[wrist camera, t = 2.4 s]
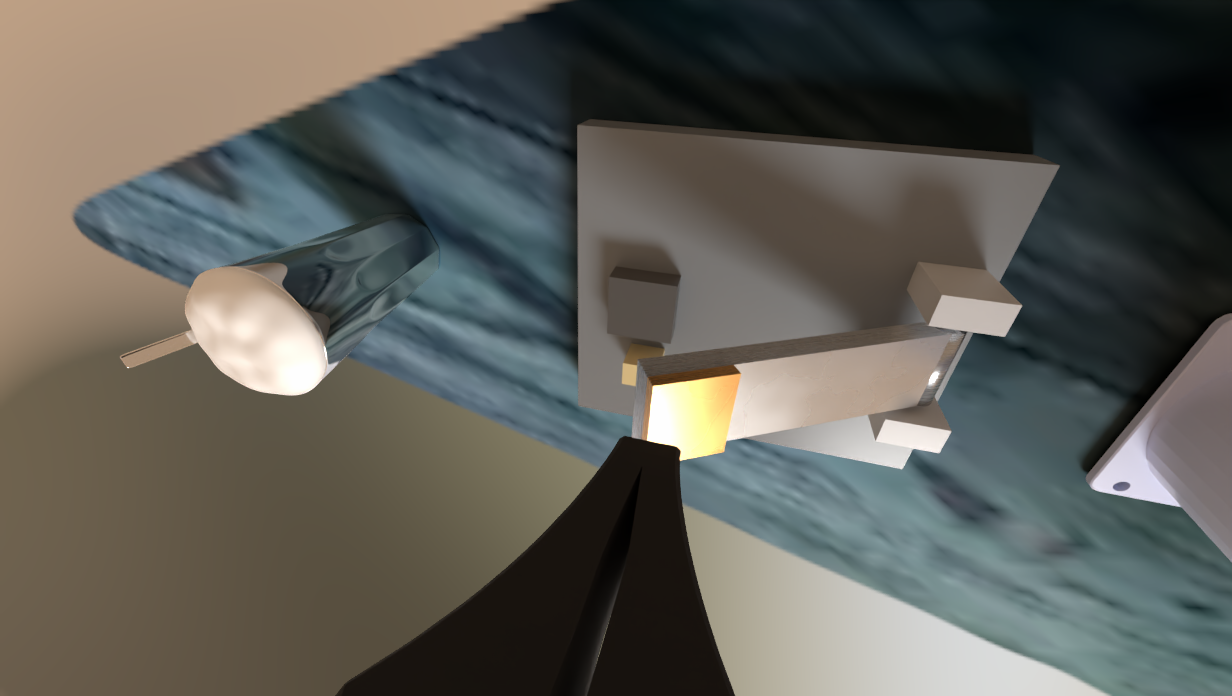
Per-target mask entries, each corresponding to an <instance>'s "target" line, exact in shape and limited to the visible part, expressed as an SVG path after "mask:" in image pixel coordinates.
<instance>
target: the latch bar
mask: <svg viewBox="0 0 1232 696" xmlns="http://www.w3.org/2000/svg"><path fill="white" fill-rule="evenodd" d="M967 332H968V331H961V330H954V329H947V328H940V327H933V326H928V325H927V323H926V322H920V323H912V324H905V325H897V326H889V327H882V328H874V329H866V330H858V331H851V332H843V333H835V334H828V335H820V336H812V337H805V338H797V339H789V340H782V341H774V342H766V343H759V344H751V345H743V346H735V347H728V348H720V349H712V350H705V351H697V352H689V353H682V354H674V355H666V356H659V357H651V358H643V359H638V362H637V375H636V388H635V401H634V414H633V427H632V438H637V439H642V440H647V441H652V442H657V443H662V444H667V445H672V446H677V447H678V448H679V450H680V451H681V456H680V460H685V459H690V458H695V457H701V456H706V455H711V454H716V453H722V452H724V448H725V444H726V441H729V440H734V439H739V438H745V437H750V436H756V435H761V434H767V433H772V432H778V431H783V430H788V429H794V428H799V427H805V426H810V425H816V424H821V423H827V422H832V421H837V420H843V419H848V418H854V417H859V416H865V415H870V414H875V413H881V412H886V411H892V410H897V409H903V408H908V407H914V406H920V407H926V406H929V405H930V404H931V403H932V401H933V399H934V397H935V395H936V393H937V391H938V389H939V387H940V385H941V383H942V381H943V379H944V377H945V375H946V373H947V371H948V369H949V367H950V365H951V363H952V362H953V360H954V358H955V356H956V354H957V352H958V350H959V348H960V346H961V344H962V342H963V340H964V338H965V336H966V334H967Z"/></svg>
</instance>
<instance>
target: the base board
mask: <svg viewBox="0 0 1232 696" xmlns="http://www.w3.org/2000/svg"><path fill="white" fill-rule="evenodd" d="M577 164H578V406H582V407H587V408H593V409H598V410H603V411H608V412H613V413H618V414H623V415H628V416H633V414H634V401H635V388H636V375H637V362H638V359H643V358H651V357H659V356H666V355H674V354H682V353H689V352H697V351H705V350H712V349H720V348H728V347H735V346H743V345H751V344H759V343H766V342H774V341H782V340H789V339H797V338H805V337H812V336H820V335H828V334H835V333H843V332H851V331H858V330H866V329H874V328H882V327H889V326H897V325H905V324H912V323H920V322H926V323H927V325H928V326H933V327H940V328H947V329H954V330H961V331H968V332H967V334H966V336H965V338H964V340H963V342H962V344H961V346H960V348H959V350H958V352H957V354H956V356H955V358H954V360H953V362H952V363H951V365H950V367H949V369H948V371H947V373H946V375H945V377H944V379H943V381H942V383H941V385H940V387H939V389H938V391H937V393H936V395H935V397H934V399H933V401H932V403H931V404H930V405H929V406H926V407H920V406H914V407H908V408H903V409H897V410H892V411H886V412H881V413H875V414H870V415H865V416H859V417H854V418H848V419H843V420H837V421H832V422H827V423H821V424H816V425H810V426H805V427H799V428H794V429H788V430H783V431H778V432H772V433H767V434H761V435H756V436H750V437H745V438H746V439H751V440H756V441H761V442H766V443H772V444H777V445H782V446H787V447H792V448H797V449H802V450H807V451H812V452H818V453H823V454H828V455H833V456H838V457H843V458H848V459H853V460H858V461H864V462H869V463H874V464H879V465H884V466H889V467H894V468H899V469H903V467H904V465H905V463H906V461H907V459H908V457H909V455H910V454H911V452H912V450H913V448H914V449H919V450H924V451H930V452H935V453H940V451H941V449H942V447H943V446H944V444H945V442H946V440H947V438H948V437H949V435H950V433H951V429H950V427H949V425H948V423H947V421H946V419H945V417H944V415H943V413H942V411H941V409H940V407H939V405H938V403H937V401H938V400H939V398H940V396H941V394H942V392H943V390H944V388H945V386H946V384H947V382H948V380H949V378H950V376H951V374H952V373H953V371H954V369H955V367H956V365H957V363H958V361H959V359H960V357H961V355H962V353H963V351H964V349H965V348H966V346H967V344H968V342H969V340H970V338H971V336H972V334H973V332H975V333H982V334H989V335H996V336H1003V337H1005V336H1006V334H1007V332H1008V330H1009V328H1010V327H1011V325H1012V323H1013V321H1014V320H1015V318H1016V316H1017V314H1018V313H1019V311H1020V309H1021V307H1022V305H1021V304H1020V303H1019V302H1018V301H1017V300H1016V299H1015V298H1014V297H1013V296H1012V295H1011V294H1010V293H1009V292H1008V291H1007V290H1006V289H1005V288H1004V287H1003V286H1002V285H1001V284H1000V283H999V282H1000V280H1001V278H1002V276H1003V274H1004V272H1005V270H1006V268H1007V267H1008V265H1009V263H1010V261H1011V259H1012V257H1013V255H1014V253H1015V251H1016V249H1017V247H1018V245H1019V243H1020V241H1021V240H1022V238H1023V236H1024V234H1025V232H1026V230H1027V228H1028V226H1029V224H1030V222H1031V220H1032V218H1033V216H1034V215H1035V213H1036V211H1037V209H1038V207H1039V205H1040V203H1041V201H1042V199H1043V197H1044V195H1045V193H1046V191H1047V189H1048V188H1049V186H1050V184H1051V182H1052V180H1053V178H1054V176H1055V174H1056V172H1057V170H1058V168H1059V166H1060V165H1058V164H1055V163H1053V162H1050V161H1048V160H1046V159H1043V158H1041V157H1038V156H1036V155H1029V154H1016V153H1004V152H992V151H979V150H967V149H954V148H942V147H930V146H917V145H905V144H893V143H880V142H868V141H855V140H843V139H831V138H818V137H806V136H794V135H781V134H769V133H757V132H744V131H732V130H719V129H707V128H695V127H682V126H670V125H658V124H645V123H633V122H620V121H608V120H596V119H589V120H587V121H585V122H583V123H581V124H579V125H577Z"/></svg>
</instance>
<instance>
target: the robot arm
mask: <svg viewBox="0 0 1232 696" xmlns="http://www.w3.org/2000/svg"><path fill="white" fill-rule="evenodd" d="M680 456H681V451H680V450H679V448H678V447H677V446H672V445H667V444H662V443H657V442H652V441H647V440H642V439H637V438H632V437H627V436H624V437H622V438H620V439H619V441H618V442H617V444H616V446H615V447H614V449H613V450H612V452H611V453H610V455H609V456H608V458H607V459H606V461H605V462H604V463H603V465H602V466H601V467H600V469H599V470H598V471H597V473H596V474H595V475H594V477H593V478H592V479H591V480H590V482H589V483H588V484H587V485H586V486H585V488H584V489H583V490H582V491H581V492H580V494H579V495H578V496H577V497H576V498H575V500H574V501H573V502H572V503H571V504H570V505H569V507H568V508H567V509H566V510H565V511H564V512H563V513H562V514H561V515H560V516H559V517H558V518H557V519H556V520H555V521H554V523H553V524H552V525H551V526H550V527H549V528H548V529H547V530H546V531H545V532H544V533H543V534H542V535H541V536H540V537H539V538H538V539H537V540H536V541H535V542H534V543H533V544H532V545H531V546H530V547H529V548H528V549H527V550H526V551H525V552H523V553H522V554H521V555H520V556H519V557H518V558H517V559H516V560H515V561H514V562H512V563H511V564H510V565H509V566H508V567H507V568H506V569H505V570H503V571H502V572H501V573H500V574H498V575H497V576H496V577H495V578H494V579H493V580H491V581H490V582H489V583H488V584H487V585H485V586H484V587H483V588H482V589H481V590H479V591H478V592H477V593H476V594H474V595H473V596H472V597H471V598H469V599H468V600H467V601H466V602H464V603H463V604H462V605H460V606H459V607H457V608H456V609H455V610H453V611H452V612H450V613H449V614H448V615H446V616H445V617H444V618H442V619H441V620H439V621H438V622H437V623H435V624H434V625H433V626H431V627H430V628H428V629H427V630H426V631H424V632H423V633H422V634H420V635H419V636H417V637H416V638H414V639H413V640H412V641H410V642H408V643H407V644H405V645H404V646H402V647H401V648H399V649H398V650H396V651H395V652H393V653H391V654H390V655H388V656H387V657H385V658H384V659H382V660H380V661H379V662H377V663H376V664H374V665H373V666H371V667H370V668H368V669H366V670H365V671H363V672H362V673H360V674H358V675H357V676H355V677H354V678H352V679H351V680H349V681H348V682H347V683H345V684H344V686H343V687H342V688H341V689H340V690H339V692H338V693H337V694H336V695H335V696H735V694H734V692H733V689H732V686H731V683H730V681H729V678H728V676H727V673H726V670H725V667H724V665H723V662H722V659H721V657H720V654H719V651H718V648H717V645H716V642H715V639H714V636H713V633H712V629H711V627H710V624H709V620H708V617H707V613H706V610H705V607H704V603H703V600H702V596H701V593H700V589H699V585H698V581H697V577H696V573H695V570H694V565H693V561H692V556H691V552H690V547H689V542H688V537H687V532H686V526H685V519H684V513H683V506H682V499H681V487H680ZM1086 481H1087V483H1088V484H1089V485H1090V487H1091V488H1092V489H1094V490H1096V491H1099V492H1105V493H1110V494H1115V495H1120V496H1126V497H1131V498H1136V499H1141V500H1147V501H1152V502H1157V503H1163V504H1168V505H1173V506H1178V507H1182V508H1183V509H1184V510H1185V511H1186V512H1187V514H1188V515H1189V516H1190V517H1191V518H1192V519H1193V520H1194V521H1195V522H1196V523H1197V525H1198V526H1199V527H1200V528H1201V529H1202V530H1203V531H1204V532H1205V533H1206V534H1207V536H1208V537H1209V538H1210V539H1211V540H1212V541H1213V542H1214V543H1215V544H1216V545H1217V547H1218V548H1219V549H1220V550H1221V551H1222V552H1223V553H1224V554H1225V555H1226V556H1227V558H1228V559H1229V560H1230V561H1231V562H1232V313H1230V314H1226V315H1224V316H1222V317H1220V318H1218V319H1216V320H1215V321H1214V322H1213V323H1212V324H1211V325H1210V326H1209V328H1208V329H1207V330H1206V331H1205V332H1204V334H1203V335H1202V336H1201V337H1200V338H1199V340H1198V341H1197V342H1196V343H1195V344H1194V346H1193V347H1192V348H1191V349H1190V351H1189V352H1188V353H1187V354H1186V355H1185V357H1184V358H1183V359H1182V360H1181V361H1180V363H1179V364H1178V365H1177V366H1176V368H1175V369H1174V370H1173V371H1172V372H1171V374H1170V375H1169V376H1168V377H1167V378H1166V380H1165V381H1164V382H1163V383H1162V385H1161V386H1160V387H1159V388H1158V389H1157V391H1156V392H1155V393H1154V394H1153V395H1152V397H1151V398H1150V399H1149V400H1148V401H1147V403H1146V404H1145V405H1144V406H1143V408H1142V409H1141V410H1140V411H1139V412H1138V414H1137V415H1136V416H1135V417H1134V418H1133V420H1132V421H1131V422H1130V423H1129V425H1128V426H1127V427H1126V428H1125V429H1124V431H1123V432H1122V433H1121V434H1120V435H1119V437H1118V438H1117V439H1116V440H1115V442H1114V443H1113V444H1112V445H1111V446H1110V448H1109V449H1108V450H1107V451H1106V452H1105V454H1104V455H1103V456H1102V457H1101V458H1100V460H1099V461H1098V462H1097V463H1096V465H1095V466H1094V467H1093V468H1092V469H1091V471H1090V472H1089V473H1088V474H1087V476H1086ZM1118 482H1120V483H1118ZM610 616H611V617H610ZM609 619H610V620H609ZM608 622H609V624H608ZM607 625H608V628H607ZM606 628H607V631H606ZM605 631H606V634H605ZM604 634H605V638H604V641H603V637H604ZM602 641H603V644H602ZM601 644H602V648H601ZM600 648H601V651H600ZM599 651H600V655H599V658H598V654H599ZM597 658H598V661H597ZM596 662H597V664H596ZM595 666H596V667H595ZM594 670H595V671H594Z"/></svg>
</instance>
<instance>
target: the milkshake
mask: <svg viewBox="0 0 1232 696" xmlns="http://www.w3.org/2000/svg"><path fill="white" fill-rule="evenodd" d="M438 269H439V248H438V246H437V244H436V242H435V241H434V239H433V237H432V235H431V234H430V232H429V230H428V228H427V227H426V226H424V225H422V224H421V223H419V222H418V221H416V220H415V219H413V218H412V217H411V216H409V215H408V214H385V215H382V216H379V217H376V218H373V219H370V220H367V221H364V222H361V223H358V224H355V225H352V226H349V227H346V228H343V229H340V230H337V231H334V232H331V233H328V234H325V235H322V236H319V237H316V238H313V239H310V240H307V241H304V242H301V243H298V244H295V245H292V246H289V247H286V248H283V249H279V250H276V251H273V252H269V253H266V254H262V255H259V256H256V257H252V258H249V259H246V260H242V261H239V262H236V263H232V264H229V265H225V266H222V267H219V268H214V269H210V270H207V271H205V272H203V273H201V274H200V275H199V276H198V277H197V278H196V279H195V281H194V283H193V285H192V287H191V289H190V291H189V293H188V296H187V298H186V302H185V314H186V317H187V319H188V321H189V323H190V325H191V327H192V330H189V331H186V332H183V333H181V334H178V335H175V336H173V337H170V338H167V339H164V340H161V341H159V342H156V343H153V344H150V345H148V346H145V347H142V348H139V349H137V350H134V351H131V352H129V353H126V354H123V355H121V356H120V358H121V360H122V361H123V363H124V364H125V365H126V367H127V368H131V367H134V366H137V365H140V364H143V363H145V362H148V361H151V360H153V359H156V358H159V357H161V356H164V355H166V354H169V353H172V352H174V351H177V350H180V349H182V348H185V347H187V346H190V345H193V344H195V343H199V345H200V346H201V347H202V348H203V350H204V351H205V352H206V353H207V354H208V356H209V357H210V358H211V360H212V361H213V363H214V364H215V365H216V366H217V368H219V370H221V371H222V372H223V373H224V374H226V375H228V376H229V377H231V378H233V379H234V380H235V381H237V382H239V383H241V384H243V385H244V386H246V387H248V388H250V389H253V390H257V391H261V392H265V393H273V394H281V395H300V394H303V393H306V392H308V391H310V390H311V389H313V388H314V387H316V386H317V385H318V383H319V382H320V381H321V380H322V379H323V378H324V377H325V376H326V375H327V374H328V373H329V372H330V371H331V370H332V369H333V368H334V367H336V365H338V364H339V363H340V361H342V360H343V359H344V358H345V357H346V356H347V355H348V354H349V353H350V352H351V351H352V350H353V349H354V348H355V347H356V346H357V345H358V344H359V343H360V342H361V341H362V340H363V339H364V338H365V337H366V336H367V334H368V333H369V332H370V331H371V330H372V329H373V328H374V327H375V326H376V325H377V324H378V323H380V322H381V321H382V320H383V319H384V318H385V317H386V316H387V315H389V314H390V313H391V312H392V311H393V310H394V309H395V308H396V307H397V306H399V305H400V304H401V303H402V302H403V301H404V300H405V299H406V298H408V297H409V296H410V295H411V294H412V293H413V292H414V291H415V290H417V289H418V288H419V287H420V286H421V285H422V284H423V283H424V282H425V281H426V280H427V279H429V278H430V277H431V276H432V275H433V274H434V273H435V272H436V271H437V270H438Z"/></svg>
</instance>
